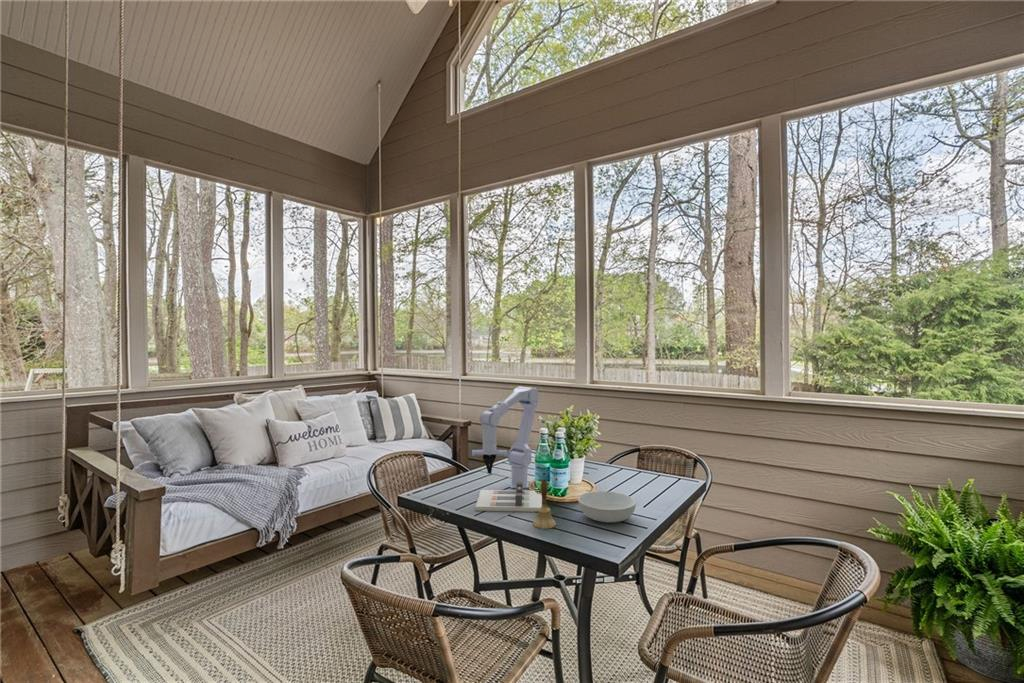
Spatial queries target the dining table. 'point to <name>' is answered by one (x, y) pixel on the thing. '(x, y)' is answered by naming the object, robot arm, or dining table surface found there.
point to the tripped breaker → (518, 489)
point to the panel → (508, 500)
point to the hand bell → (544, 511)
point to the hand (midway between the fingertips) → (489, 472)
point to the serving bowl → (606, 506)
